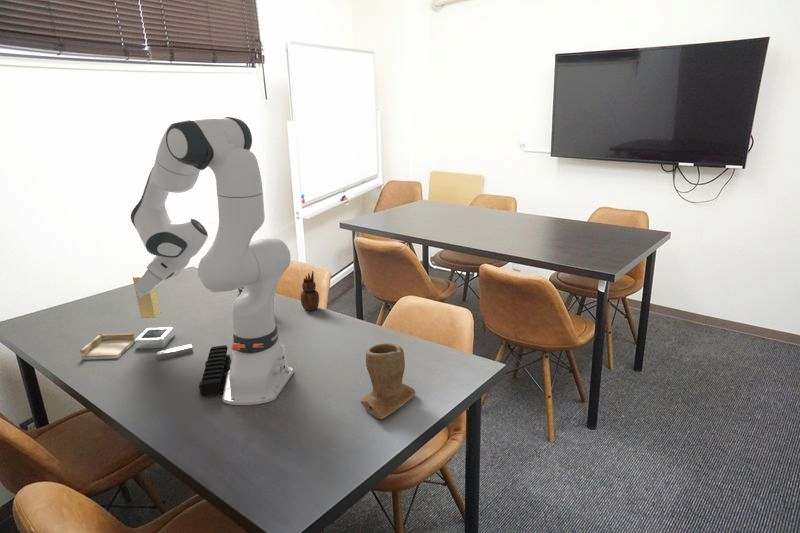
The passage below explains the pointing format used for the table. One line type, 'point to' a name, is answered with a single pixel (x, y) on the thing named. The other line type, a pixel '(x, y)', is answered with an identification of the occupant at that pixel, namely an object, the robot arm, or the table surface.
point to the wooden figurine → (309, 294)
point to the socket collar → (149, 335)
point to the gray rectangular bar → (174, 351)
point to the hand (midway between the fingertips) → (144, 292)
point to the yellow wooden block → (147, 301)
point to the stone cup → (386, 380)
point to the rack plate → (108, 346)
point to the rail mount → (215, 371)
